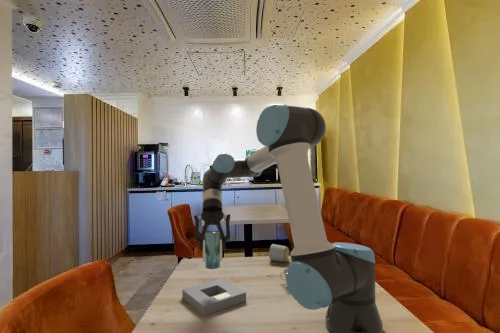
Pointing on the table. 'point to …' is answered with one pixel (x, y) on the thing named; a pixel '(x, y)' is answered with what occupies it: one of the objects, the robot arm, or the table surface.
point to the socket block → (208, 305)
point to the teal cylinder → (212, 249)
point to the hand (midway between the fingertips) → (212, 259)
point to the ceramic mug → (278, 253)
